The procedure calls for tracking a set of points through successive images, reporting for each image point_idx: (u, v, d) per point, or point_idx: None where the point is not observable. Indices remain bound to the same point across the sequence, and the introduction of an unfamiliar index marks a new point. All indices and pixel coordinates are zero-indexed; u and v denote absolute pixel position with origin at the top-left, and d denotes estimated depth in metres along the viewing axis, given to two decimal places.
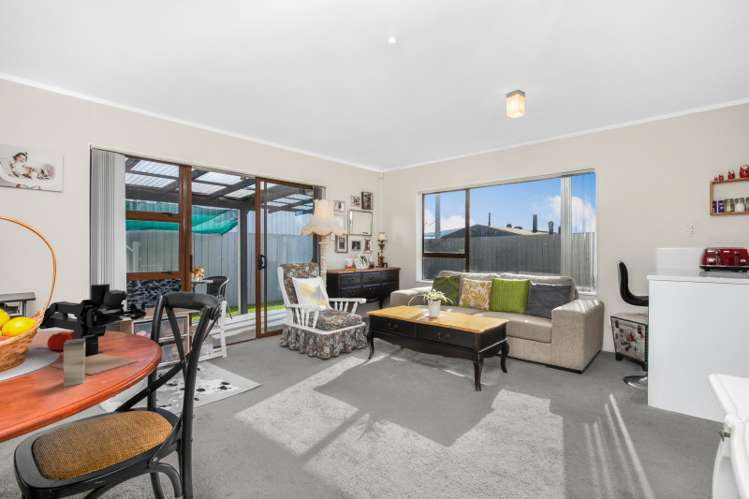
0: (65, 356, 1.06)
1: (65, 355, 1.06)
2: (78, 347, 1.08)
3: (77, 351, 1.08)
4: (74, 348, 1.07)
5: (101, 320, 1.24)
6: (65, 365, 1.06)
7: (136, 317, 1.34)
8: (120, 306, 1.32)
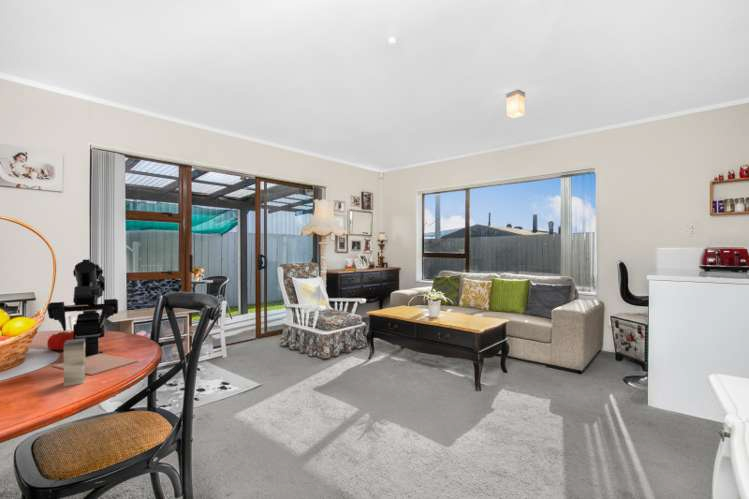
0: (65, 356, 1.06)
1: (65, 355, 1.06)
2: (78, 347, 1.08)
3: (77, 351, 1.08)
4: (74, 348, 1.07)
5: (59, 316, 1.20)
6: (65, 365, 1.06)
7: None
8: (90, 301, 1.25)
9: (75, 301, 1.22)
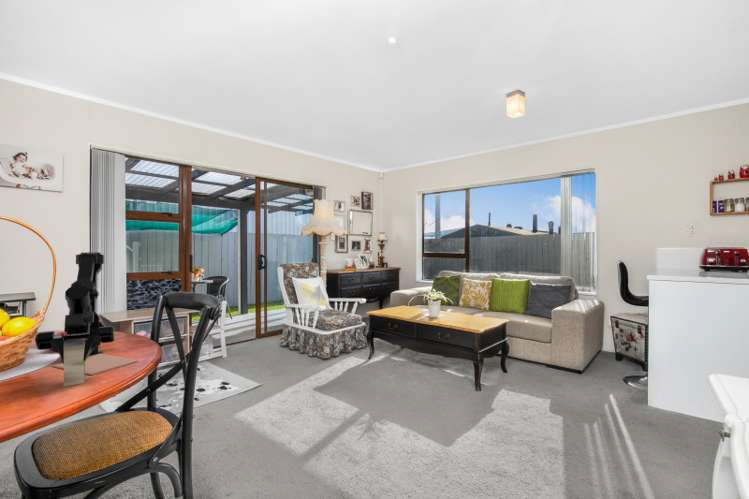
0: (65, 356, 1.06)
1: (65, 355, 1.06)
2: (78, 347, 1.08)
3: (77, 351, 1.08)
4: (74, 348, 1.07)
5: None
6: (65, 365, 1.06)
7: None
8: (83, 329, 1.13)
9: (66, 330, 1.11)
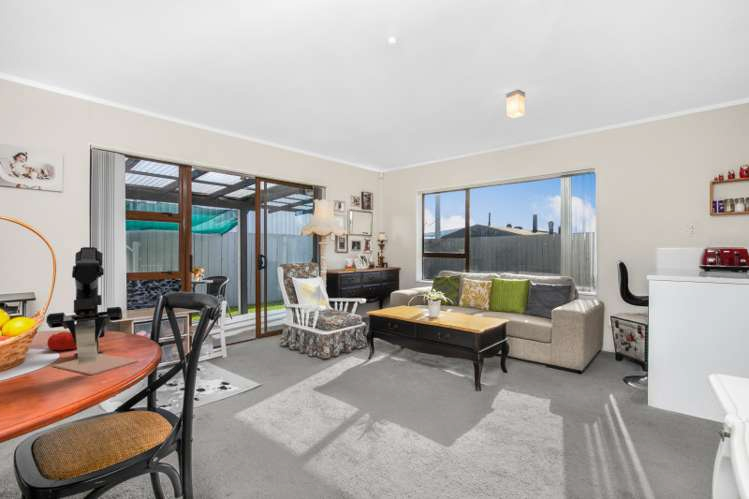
0: (77, 339, 1.11)
1: (77, 338, 1.11)
2: (89, 330, 1.12)
3: (88, 334, 1.12)
4: (85, 331, 1.12)
5: None
6: (78, 346, 1.12)
7: None
8: (92, 310, 1.16)
9: (76, 312, 1.14)
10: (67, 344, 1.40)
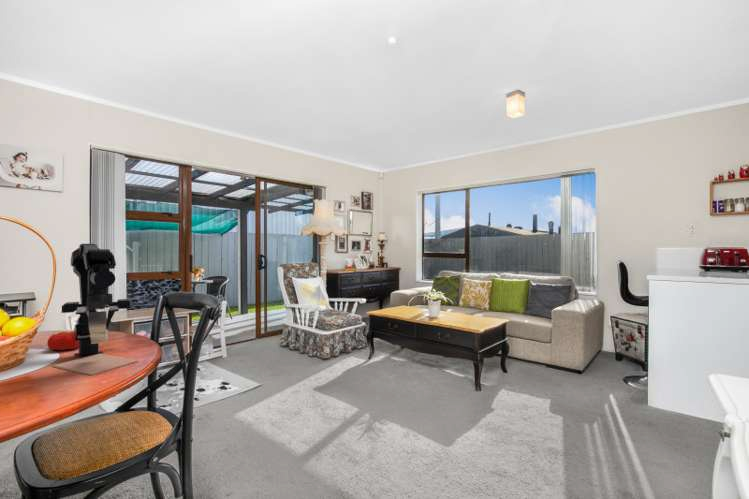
0: (90, 329, 1.23)
1: (90, 329, 1.22)
2: (101, 325, 1.23)
3: (100, 327, 1.23)
4: (97, 325, 1.22)
5: None
6: (91, 334, 1.24)
7: None
8: None
9: None
10: (67, 344, 1.40)
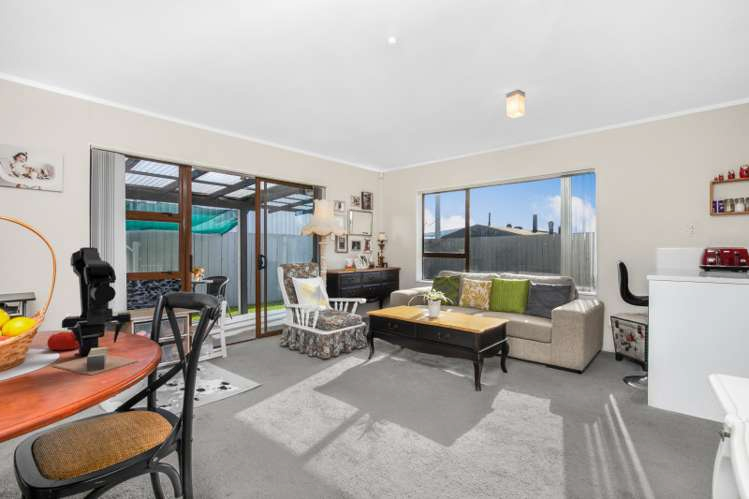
0: None
1: None
2: None
3: None
4: None
5: None
6: None
7: None
8: None
9: None
10: (67, 344, 1.40)
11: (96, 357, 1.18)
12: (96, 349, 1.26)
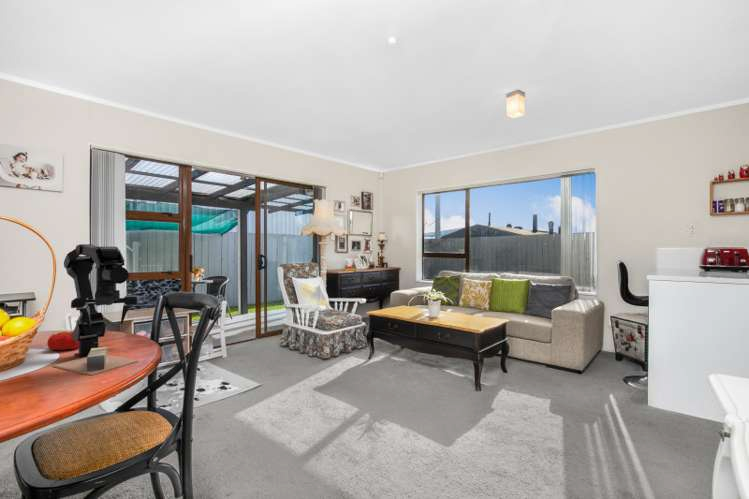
0: None
1: None
2: None
3: None
4: None
5: None
6: None
7: None
8: None
9: None
10: (67, 344, 1.40)
11: (96, 357, 1.18)
12: (96, 349, 1.26)
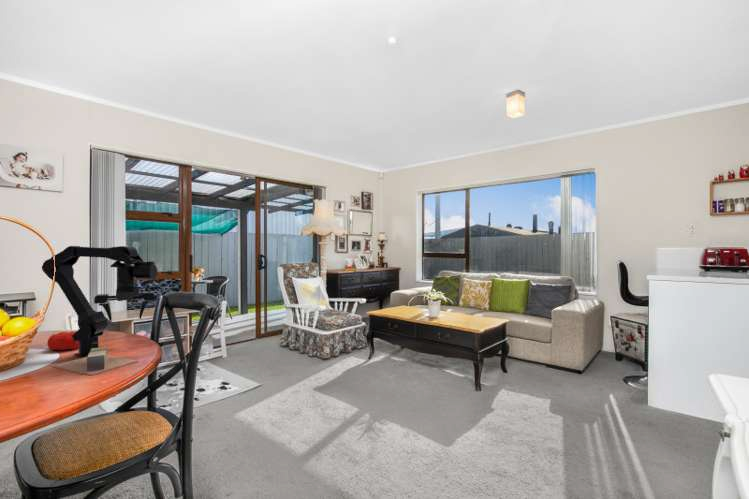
0: None
1: None
2: None
3: None
4: None
5: None
6: None
7: (141, 303, 1.42)
8: None
9: None
10: (67, 344, 1.40)
11: (96, 357, 1.18)
12: (96, 349, 1.26)
